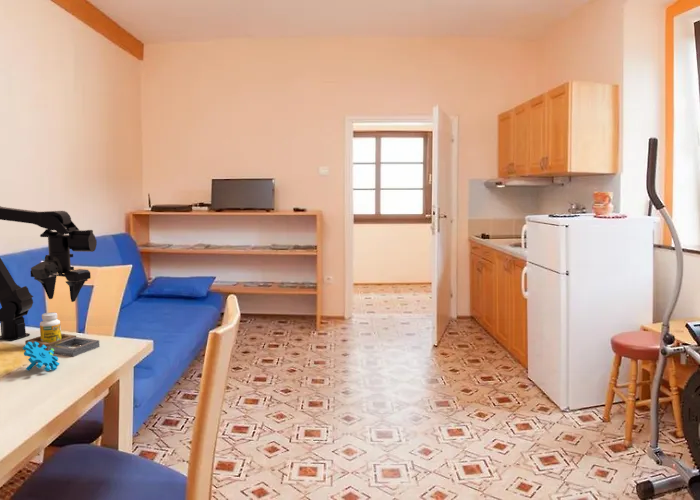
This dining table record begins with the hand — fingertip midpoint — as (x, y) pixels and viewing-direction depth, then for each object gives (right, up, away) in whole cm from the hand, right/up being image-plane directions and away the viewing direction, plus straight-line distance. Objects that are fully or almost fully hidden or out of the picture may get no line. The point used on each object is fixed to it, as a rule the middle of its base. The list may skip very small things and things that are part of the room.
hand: (61, 300), depth 156 cm
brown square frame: (0, -13, -6) cm, 14 cm away
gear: (+10, -16, -25) cm, 32 cm away
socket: (+10, -14, -10) cm, 19 cm away
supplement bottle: (0, -13, -6) cm, 14 cm away
